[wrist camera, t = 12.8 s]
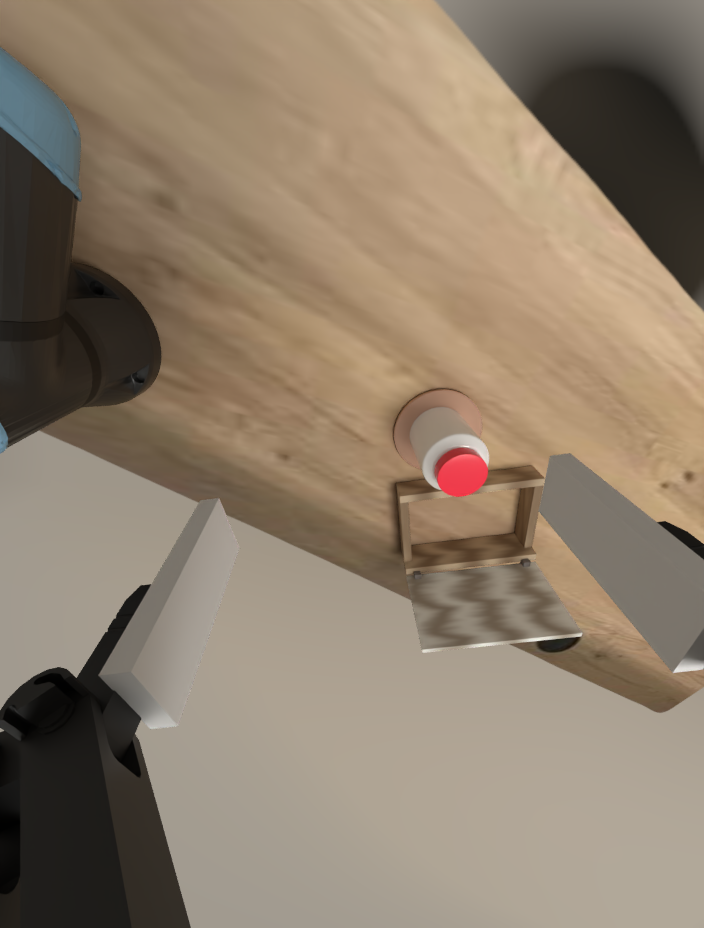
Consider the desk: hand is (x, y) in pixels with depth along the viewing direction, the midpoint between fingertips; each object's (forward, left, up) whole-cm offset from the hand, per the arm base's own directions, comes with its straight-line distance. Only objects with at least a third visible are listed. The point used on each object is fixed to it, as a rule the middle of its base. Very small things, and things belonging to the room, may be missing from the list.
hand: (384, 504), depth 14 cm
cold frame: (+14, -27, -31) cm, 44 cm away
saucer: (+10, -12, -31) cm, 35 cm away
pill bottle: (+10, -12, -31) cm, 34 cm away
